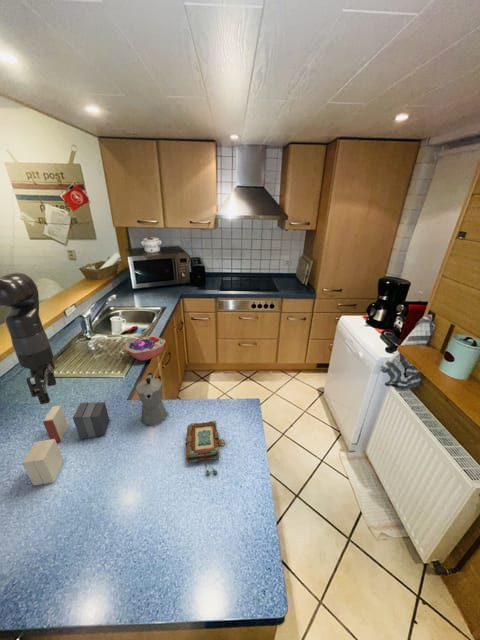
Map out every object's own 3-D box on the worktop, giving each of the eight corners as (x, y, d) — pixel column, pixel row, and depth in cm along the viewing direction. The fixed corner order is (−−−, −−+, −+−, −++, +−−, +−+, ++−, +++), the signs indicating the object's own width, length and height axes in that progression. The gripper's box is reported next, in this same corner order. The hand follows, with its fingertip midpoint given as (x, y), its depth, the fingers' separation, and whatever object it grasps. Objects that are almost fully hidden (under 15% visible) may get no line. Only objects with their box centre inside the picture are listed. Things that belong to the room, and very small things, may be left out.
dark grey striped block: (79, 439, 88) (72, 417, 84) (86, 423, 94) (80, 403, 90) (104, 435, 89) (98, 414, 85) (109, 420, 96) (104, 400, 91)
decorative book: (185, 478, 76) (183, 467, 74) (187, 431, 92) (186, 421, 89) (228, 472, 78) (228, 461, 76) (223, 427, 94) (223, 417, 91)
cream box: (33, 485, 73) (21, 462, 69) (45, 463, 79) (35, 441, 75) (53, 482, 74) (43, 459, 70) (63, 460, 80) (54, 438, 76)
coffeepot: (167, 426, 93) (161, 388, 86) (140, 432, 91) (132, 393, 83) (166, 398, 107) (161, 363, 99) (143, 402, 104) (136, 367, 97)
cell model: (166, 363, 131) (164, 344, 126) (125, 368, 126) (121, 348, 121) (167, 347, 146) (165, 329, 141) (130, 350, 141) (126, 333, 136)
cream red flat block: (51, 443, 86) (42, 421, 82) (60, 427, 92) (52, 406, 88) (60, 442, 87) (51, 420, 82) (68, 425, 93) (61, 405, 89)
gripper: (24, 337, 73) (40, 382, 80) (5, 363, 62) (26, 413, 68) (54, 333, 76) (67, 377, 83) (42, 357, 64) (58, 406, 71)
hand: (49, 393), depth 75 cm, fingers open, 8 cm apart
